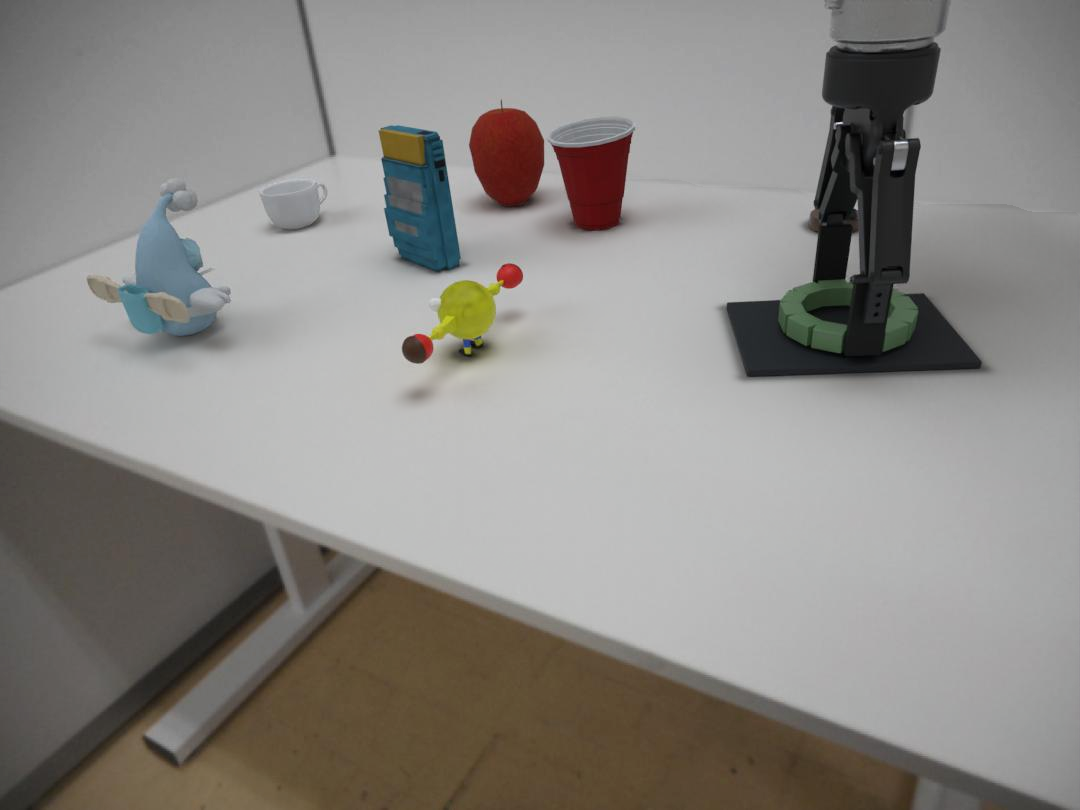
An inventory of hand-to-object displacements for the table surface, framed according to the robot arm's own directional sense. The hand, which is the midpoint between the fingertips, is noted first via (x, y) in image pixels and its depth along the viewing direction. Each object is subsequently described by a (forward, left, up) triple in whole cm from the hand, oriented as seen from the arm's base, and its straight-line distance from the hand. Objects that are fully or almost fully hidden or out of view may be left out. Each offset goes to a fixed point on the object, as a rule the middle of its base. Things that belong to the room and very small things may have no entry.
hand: (843, 321), depth 64 cm
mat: (0, 0, -1) cm, 1 cm away
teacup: (+64, -41, -2) cm, 76 cm away
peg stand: (-6, -27, -1) cm, 28 cm away
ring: (0, 0, 0) cm, 0 cm away
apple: (+34, -44, -2) cm, 56 cm away
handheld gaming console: (+42, -23, -2) cm, 48 cm away
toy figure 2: (+33, 0, -2) cm, 33 cm away
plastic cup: (+22, -33, -2) cm, 40 cm away
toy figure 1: (+64, -7, -2) cm, 64 cm away
